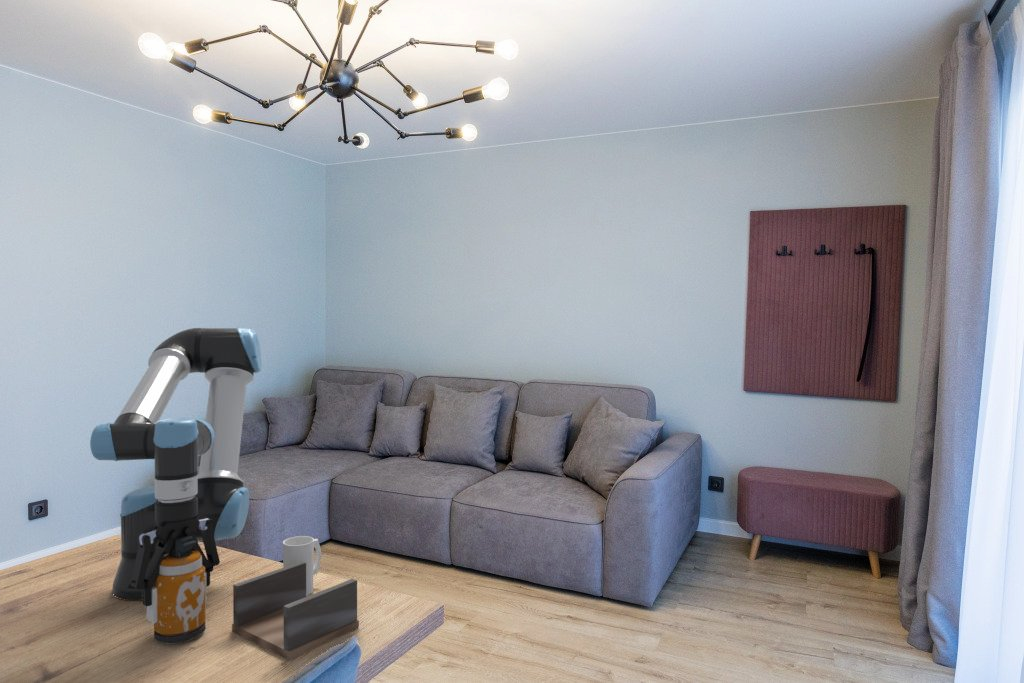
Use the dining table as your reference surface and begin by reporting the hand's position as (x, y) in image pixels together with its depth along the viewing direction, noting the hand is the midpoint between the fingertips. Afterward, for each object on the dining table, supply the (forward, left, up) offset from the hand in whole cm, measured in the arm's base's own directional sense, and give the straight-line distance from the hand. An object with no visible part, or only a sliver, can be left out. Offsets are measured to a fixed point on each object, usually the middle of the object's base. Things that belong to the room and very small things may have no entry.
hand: (177, 611), depth 127 cm
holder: (+17, +15, -4) cm, 23 cm away
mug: (+2, +28, -5) cm, 28 cm away
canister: (0, 0, -5) cm, 5 cm away
